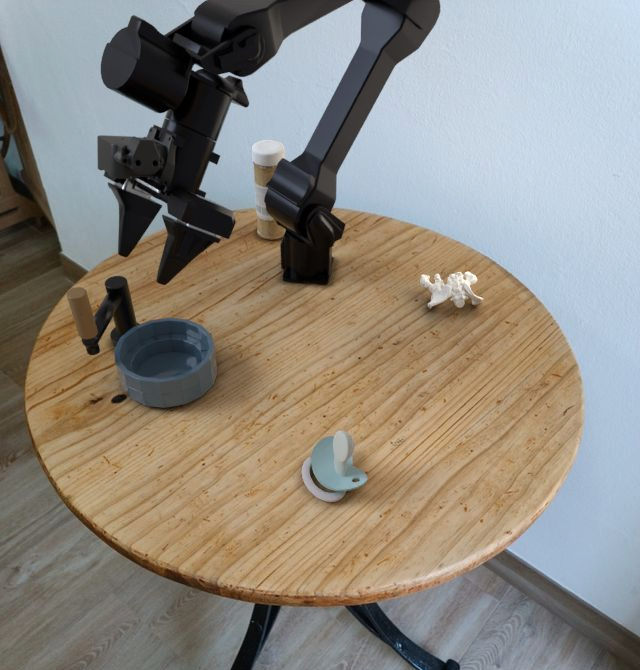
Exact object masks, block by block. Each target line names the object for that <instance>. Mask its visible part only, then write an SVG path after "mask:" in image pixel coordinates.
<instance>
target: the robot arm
mask: <svg viewBox="0 0 640 670" xmlns="http://www.w3.org/2000/svg"><path fill="white" fill-rule="evenodd" d="M353 1H354V0H204V1H203V2H201V3H200V4H199V5H197V7H196V8H195V9H194V11H193V16H191V17H190V18H188V19H187V20H186V21H184V22H182V23H181V24H180V25H178V26H176V27H174V28H172V29H171V30H170V31H168V32H167V33H165V34H163V33H161V32H160V31H159V30H158V28H156V27H155V26H154V25H153V24H151V23H150V22H148V21H147V20H145V19H143V18H141V17H139V16H137V15H135V14H133V15H131V16H130V18H129V21H128V24H127V26H125V27H122V28H121V29H119V30H118V31H117V32H116V33H115V34H114V35H113V37H112V38H111V40H110V41H109V42H107V43H106V44H105V46H104V49H103V52H102V55H101V61H100V76H101V80H102V83H103V85H104V86H105V87H106V88H107V89H109V90H111V91H113V92H114V93H117V94H118V95H121V96H123V97H125V98H126V99H128V100H131V101H132V102H134V103H136V104H138V105H140V106H142V107H143V108H145V109H148V110H150V111H152V112H154V113H156V114H164V113H166V114H165V116H164V119H163V122H162V125H161V126H159V125H156V124H153V125H152V126H150V128H149V129H148V133H147V135H146V136H143V137H140V136H139V137H137V136H129V135H128V136H127V135H103V134H102V135H97V138H96V139H97V141H96V142H97V143H96V144H97V145H96V146H97V147H96V148H97V149H96V150H97V151H96V152H97V153H96V154H97V170H99V171H104V173H103V177H105V178H106V179H108V180H110V181H112V182H113V183H111V182H109V181H108V182H107V186H108V188H109V189H110V190H111V191H112V193H113V195H114V197H115V200H116V201H117V204H118V238H117V239H118V242H117V254H118V256H120V257H122V258H128V257H129V256H130V255H131V253H133V251H134V249H136V247H137V246H138V244H139V242H140V241H141V240H142V238H143V236H144V235H145V233H146V232H147V230H148V229H149V227H150V226H151V224H152V223H153V221H154V220H155V218H156V217H157V215H158V214H159V212H160V211H161V209H162V208H163V204H161V203H159V202H157V201H156V200H154V199H152V197H153V198H155V199H157V200H158V201H161V202H163V203H165V204H166V206H167V214H169V215H170V216H172V217H170V216H168V215H165V214H161V217H162V221H163V224H164V227H165V229H166V232H167V235H166V239H165V243H164V246H163V250H162V254H161V258H160V261H159V265H158V269H157V274H156V279H155V282H156V283H157V284H159V285H163V286H167V285H168V283H170V282H171V281H172V280H173V279H174V278H175V277H177V275H178V274H179V273H180V272H181V271H183V270H184V269H185V268H186V267H187V266H188V265H189V264H190V263H191V262H193V260H195V259H196V258H197V257H198V256H200V254H202V253H203V252H205V251H206V250H207V249H208V248H209V247H211V246H212V245H213V244H215V243H216V244H220V242H221V240H222V239H221V238H224V239H227V240H230V238H231V235H232V233H233V231H234V228H235V226H236V223H237V222H236V218H235V215H234V212H233V210H231V209H229V208H228V207H225V206H223V204H220V203H218V202H216V201H213V200H211V199H209V198H206V197H207V196H206V195H207V191H204V190H203V189H200V188H201V186H202V183H203V180H204V177H205V174H206V172H207V168H208V167H209V164H210V163H212V164H214V165H218V163H219V161H220V159H221V155H220V154H218V153H216V152H214V151H215V147H216V145H217V142H218V139H219V137H220V134H221V131H222V128H223V126H224V123H225V121H226V118H227V115H228V113H229V110H230V107H231V104H234V105H237V106H240V107H243V108H248V107H249V106H250V100H249V97H248V94H247V93H246V91H245V89H244V84H243V79H241V78H245V77H249V76H252V75H254V74H255V73H256V72H258V71H259V70H260V69H261V68H262V67H263V66H265V65H266V64H267V63H268V62H269V61H271V60H272V59H273V58H274V57H276V55H277V54H278V53H279V50H280V48H281V46H282V44H283V43H284V41H285V40H286V39H287V38H288V37H290V36H291V35H292V34H294V33H296V32H298V31H300V30H301V29H303V28H305V27H307V26H309V25H312V24H313V23H314V22H316V21H318V20H320V19H322V18H323V17H325V16H327V15H329V14H331V13H333V12H335V11H336V10H338V9H340V8H342V7H344V6H346V5H348V4H349V3H351V2H353ZM361 2H363V3H364V6H363V9H362V12H361V14H360V42H359V44H358V47H357V48H356V51H355V52H354V54H353V55H352V58H351V60H350V62H349V64H348V65H347V68H346V69H345V71H344V72H343V73H344V74H343V75H342V77H341V79H340V81H339V83H338V85H337V86H336V88H335V91H334V93H333V94H332V97H331V98H330V100H329V103H327V106H326V108H325V110H324V112H323V114H322V116H321V117H320V119H319V121H318V124H317V125H316V127H315V129H314V131H313V133H312V134H311V136H310V138H309V140H308V143H307V144H306V147H305V149H304V150H303V151H302V153H301V154H300V155H298V156H297V157H295V158H293V159H292V160H288V159H286V158H285V159H284V158H282V159H281V160H280V161H279V162H278V164H277V167H276V170H275V172H274V174H273V176H272V178H271V179H270V181H269V182H268V183H267V184H266V185H265V186H266V187H267V188H268V190H267V192H266V195H265V199H264V202H265V204H266V210H267V212H268V214H269V215H270V216H271V217H272V218H274V219H275V222H276V224H277V225H279V226H282V227H283V228H285V229H286V231H285V234H284V235H283V237H281V242H280V244H279V245H280V247H279V248H280V249H279V250H280V269H281V270H282V271H283V273H282V277H281V278H282V280H283V281H284V282H293V283H303V284H315V285H323V286H325V285H328V284H329V283H330V279H331V274H332V269H333V265H334V261H335V260H334V259H335V257H334V256H333V247H334V246H335V243H336V242H338V241H340V240H341V239H342V237H343V234H344V231H345V228H346V223H345V222H344V221H342V220H341V218H339V217H337V216H336V215H334V214H333V213H332V211H333V208H334V206H335V203H336V201H337V181H338V180H337V178H338V177H337V176H338V173H339V170H340V169H341V167H342V165H343V163H344V161H345V159H346V157H347V155H348V154H349V152H350V150H351V148H352V147H353V144H354V143H355V141H356V139H357V137H358V135H359V133H360V132H361V130H362V128H363V126H364V124H365V123H366V121H367V119H368V117H369V115H370V113H371V111H372V110H373V108H374V106H375V104H376V102H377V101H378V98H379V97H380V95H381V93H382V91H383V89H384V87H385V85H386V83H387V82H388V80H389V78H390V77H391V75H392V73H393V70H395V67H396V66H397V65H398V64H400V62H402V61H403V60H405V59H406V58H408V57H409V56H411V55H412V54H413V53H415V52H417V50H419V49H420V48H421V46H422V45H423V44H424V42H425V40H426V39H427V38H428V36H429V35H430V33H431V32H432V30H433V29H434V28H435V26H436V24H437V22H438V20H439V17H440V14H441V12H442V11H441V1H440V0H361ZM195 65H196V66H198V67H199V69H197V70H195V71H194V70H193V68H194V66H195ZM228 73H230V74H232V75H227V76H226V77H223V76H221V75H223V74H228ZM173 217H174V218H173ZM220 237H221V238H220Z"/></svg>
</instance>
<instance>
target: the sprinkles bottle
mask: <svg viewBox="0 0 640 670" xmlns="http://www.w3.org/2000/svg"><path fill="white" fill-rule="evenodd" d="M282 158H284V159H286V151H285V145H284V144H283V143H282V142H280V141H278V140H274V139H263V140H259V141H256V142H255V143H253V144H252V146H251V160H252V164H253V176H254V180H253V183H254V199H255V213H256V214H255V215H256V220H257V229H256V233H257V235H258V236H259V237H260V238H262V239H266V240H271V241H273V240H278V239H282V238H283V235H284V234H285V231H286V229H285V228H283V227H282V226H279V225H277V224H276V222H275V219H274V218H272V217H271V216H270V215H269V214H268V212H267V210H266V204H265V202H264V199H265V195H266V192H267V190H268V188H267V187H266V186H265V185H266V184H267V183H268V182H269V181H270V179H271V178H272V176H273V174H274V172H275V170H276V167H277V164H278V162H279V161H280V160H281V159H282Z"/></svg>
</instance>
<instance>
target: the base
mask: <svg viewBox="0 0 640 670" xmlns="http://www.w3.org/2000/svg"><path fill="white" fill-rule="evenodd" d="M140 324H141V323H139V322H137V325H140ZM109 338H110V340H111V345H112V346H113V348H115V347H116V345H117V343H118V341H119V339H120V337H119V336H118V335H117V331H116V327H113V328H112V329H111V331H110V334H109Z"/></svg>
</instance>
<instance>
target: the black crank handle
mask: <svg viewBox="0 0 640 670" xmlns="http://www.w3.org/2000/svg"><path fill="white" fill-rule="evenodd" d="M104 288H105V291H106V295H105V296H104V298H103V300H102V301H101V303H100V305H99V306H98V308H97V310H96V312H95V314H94V313H93V309H92V305H91V301H90V299H89V295H88V292H87V289H86V288H84V287H81V286H75V287H71V288H70V289H68V290H67V291H66V299H67V301H68V302H67V303H68V305H69V309H70V311H71V315H72V317H73V321H74V324H75V328H76V330H77V331H76V332H77V333H78V336H79V338H81V343H82V345H83V346H84V347H85V349H86V350H85V351H86V353H87V355H89V356H96V355H98V354H99V353H100V352H101V347H100V345H99V342H100V341H101V340H102V338H103V335H104V333H105V332H106V330H107V328H108V327H109V326H110V325H109V324H110V323H111V321H112V320H113V323H114V326H115V327H116V331H117V335H118V336H119V337H120V338H121V337H122V336H123V335H124V334H125V333H127V332H128V331H129V330H130V329H132V328H133V327H135V326H137V323H138V322H137V317H136V313H135V309H134V303H133V300H132V299H133V298H132V296H131V295H132V294H131V291H130V287H129V282H128V279H127V277H125V276H122V275H113V276H110V277H108V278H107V279H106V280H105V281H104ZM115 327H114V328H115Z"/></svg>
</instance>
